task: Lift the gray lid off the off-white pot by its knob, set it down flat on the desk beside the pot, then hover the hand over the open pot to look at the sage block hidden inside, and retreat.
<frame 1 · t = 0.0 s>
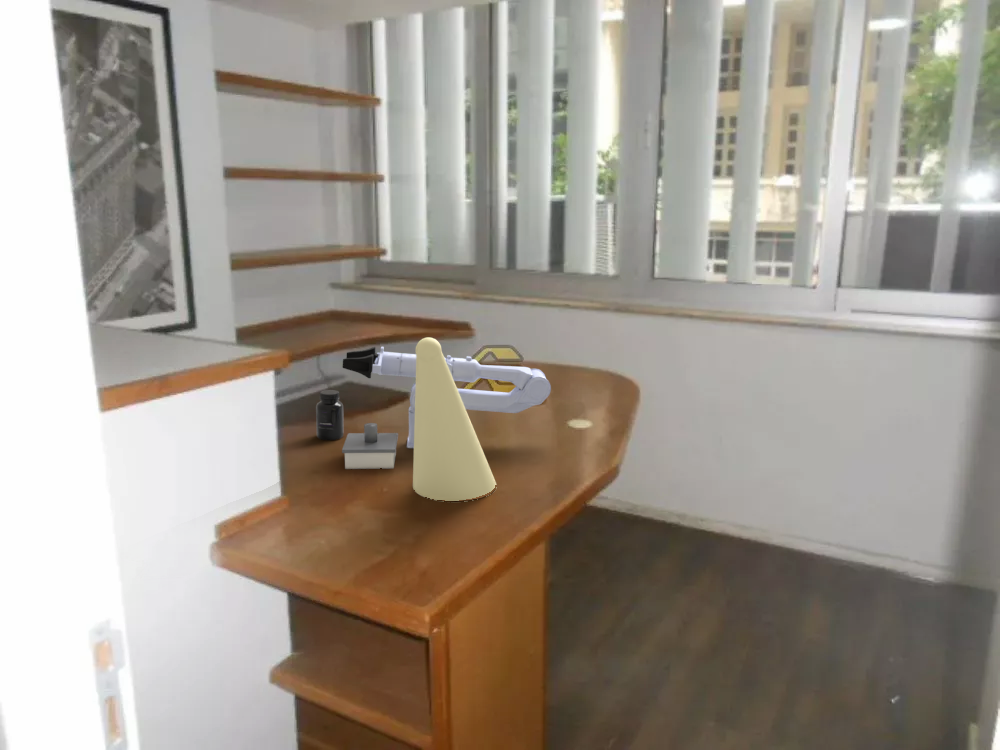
hand: (344, 359, 184), 22 cm above the table, tool horizontal, fingers open, 7 cm apart
off-white pot: (371, 460, 178), on the table
sage block: (371, 458, 178), resting on off-white pot
supplement bottle: (330, 437, 195), on the table
gray lid: (371, 444, 178), point 4 cm above the table, touching off-white pot
cone light: (448, 491, 162), on the table
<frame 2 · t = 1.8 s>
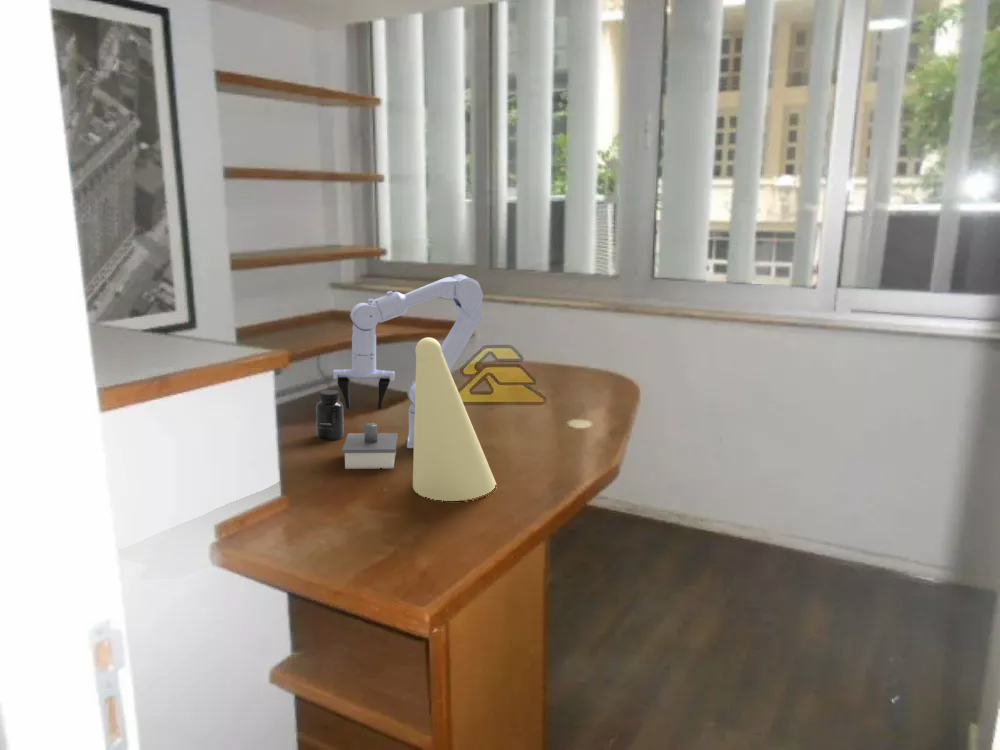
hand: (364, 407, 184), 10 cm above the table, tool pointing down, fingers open, 7 cm apart
nothing on the table moved.
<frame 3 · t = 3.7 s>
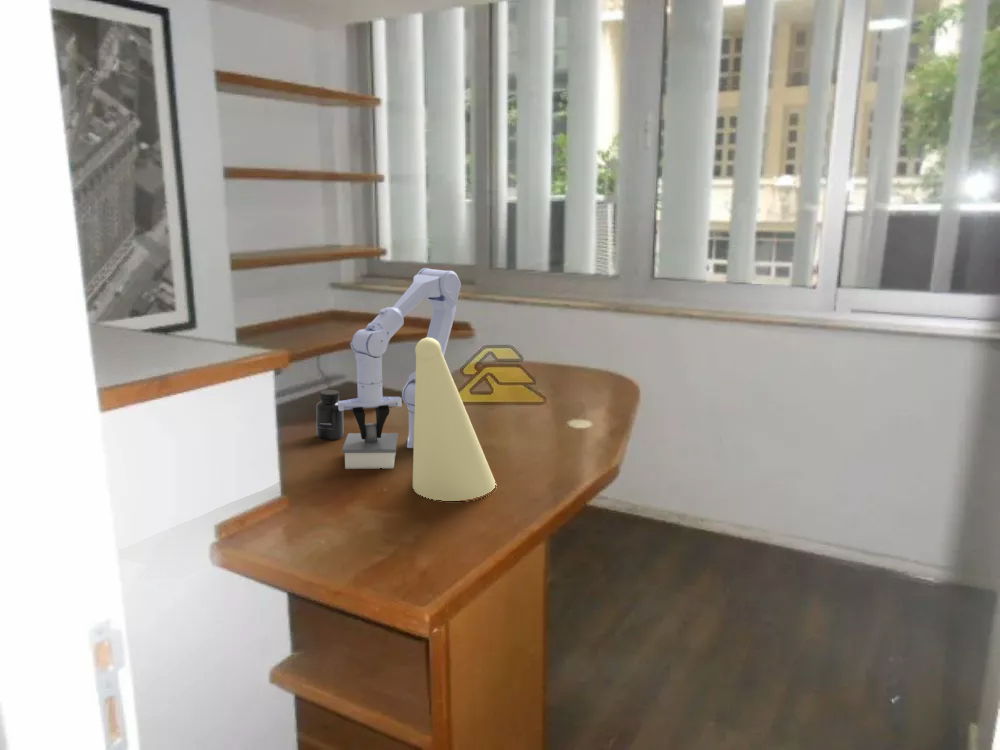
hand: (370, 437, 177), 6 cm above the table, tool pointing down, fingers closed on gray lid, 3 cm apart
gray lid: (371, 444, 178), point 4 cm above the table, touching gripper, off-white pot
everything else where it was.
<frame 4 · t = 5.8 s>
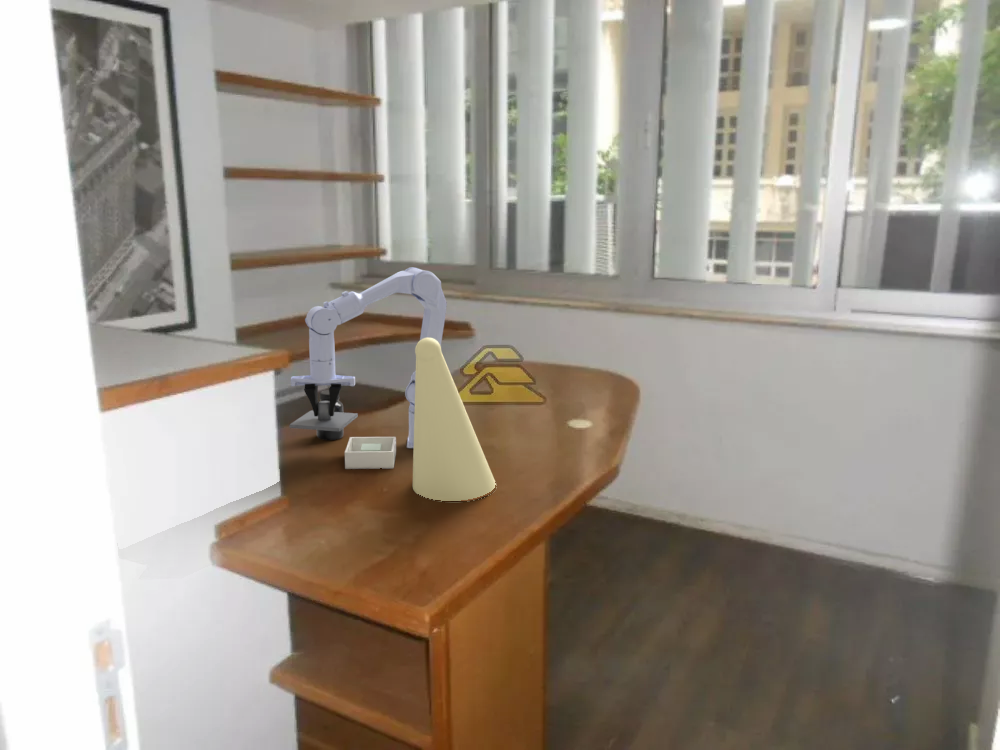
hand: (324, 415, 177), 10 cm above the table, tool pointing down, fingers closed on gray lid, 3 cm apart
gray lid: (324, 422, 178), point 9 cm above the table, touching gripper
everything else where it was.
when the fingers open (3 cm above the table, at t = 7.8 s): gray lid drops 2 cm, on the table.
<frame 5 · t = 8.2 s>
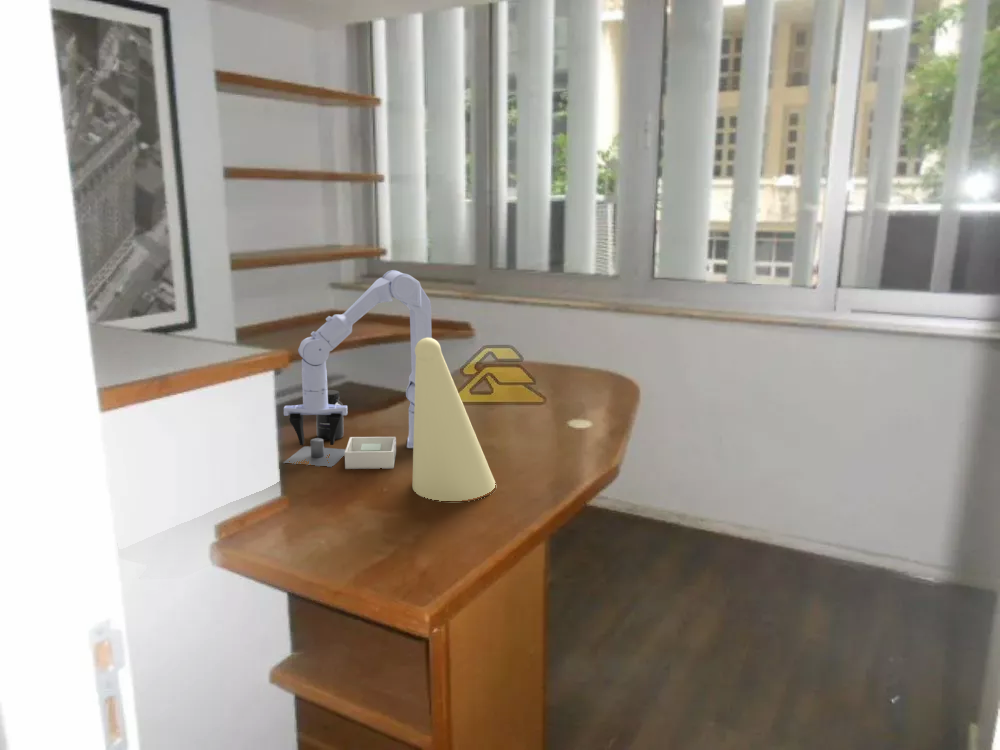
hand: (317, 443, 180), 3 cm above the table, tool pointing down, fingers open, 6 cm apart
gray lid: (317, 459, 180), on the table
everything else where it was.
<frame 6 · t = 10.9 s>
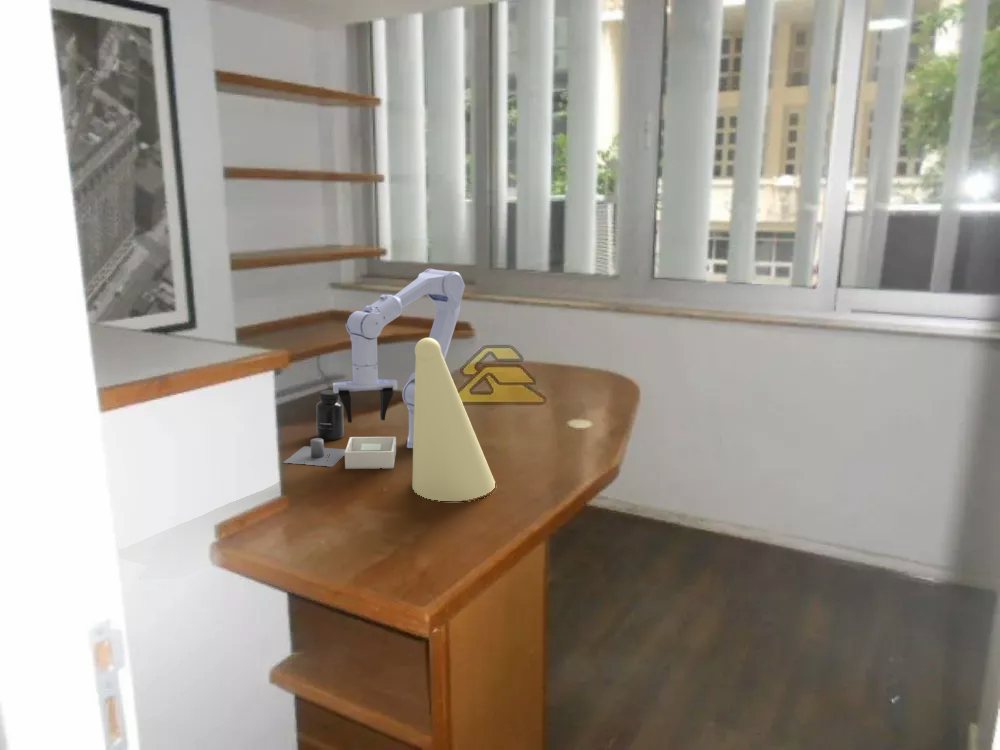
hand: (366, 420, 176), 10 cm above the table, tool pointing down, fingers open, 7 cm apart
nothing on the table moved.
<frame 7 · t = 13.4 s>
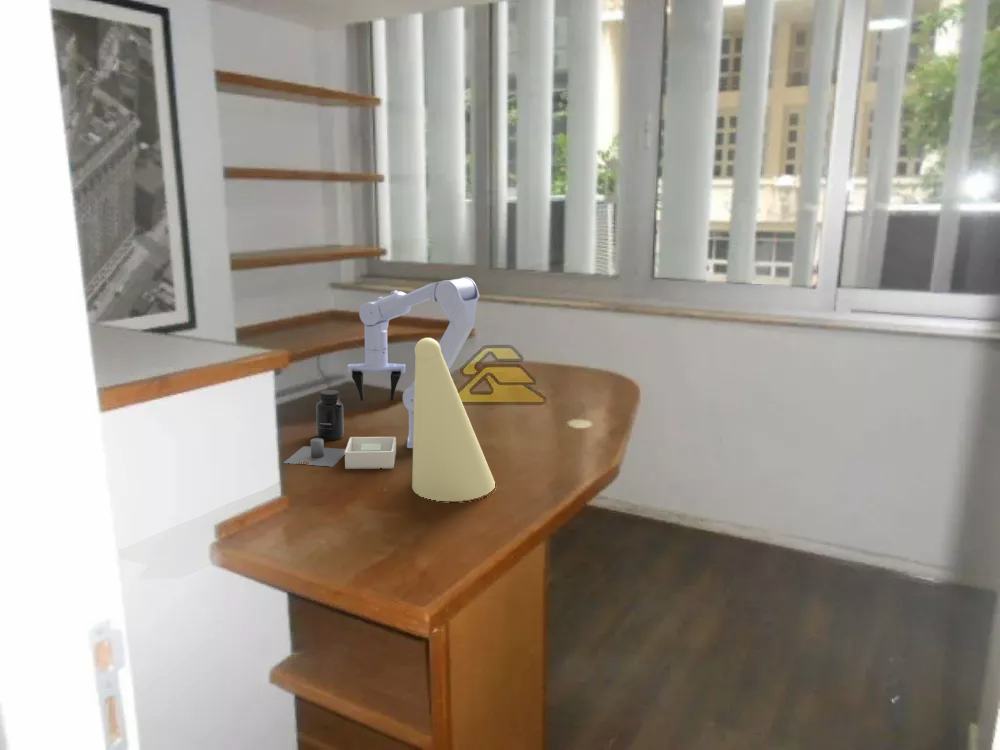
hand: (377, 399, 196), 9 cm above the table, tool pointing down, fingers open, 7 cm apart
nothing on the table moved.
at the end: gray lid inside the target area (0.2 cm from its centre), on the table; gray lid tilted 0°; the gripper is holding nothing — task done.
